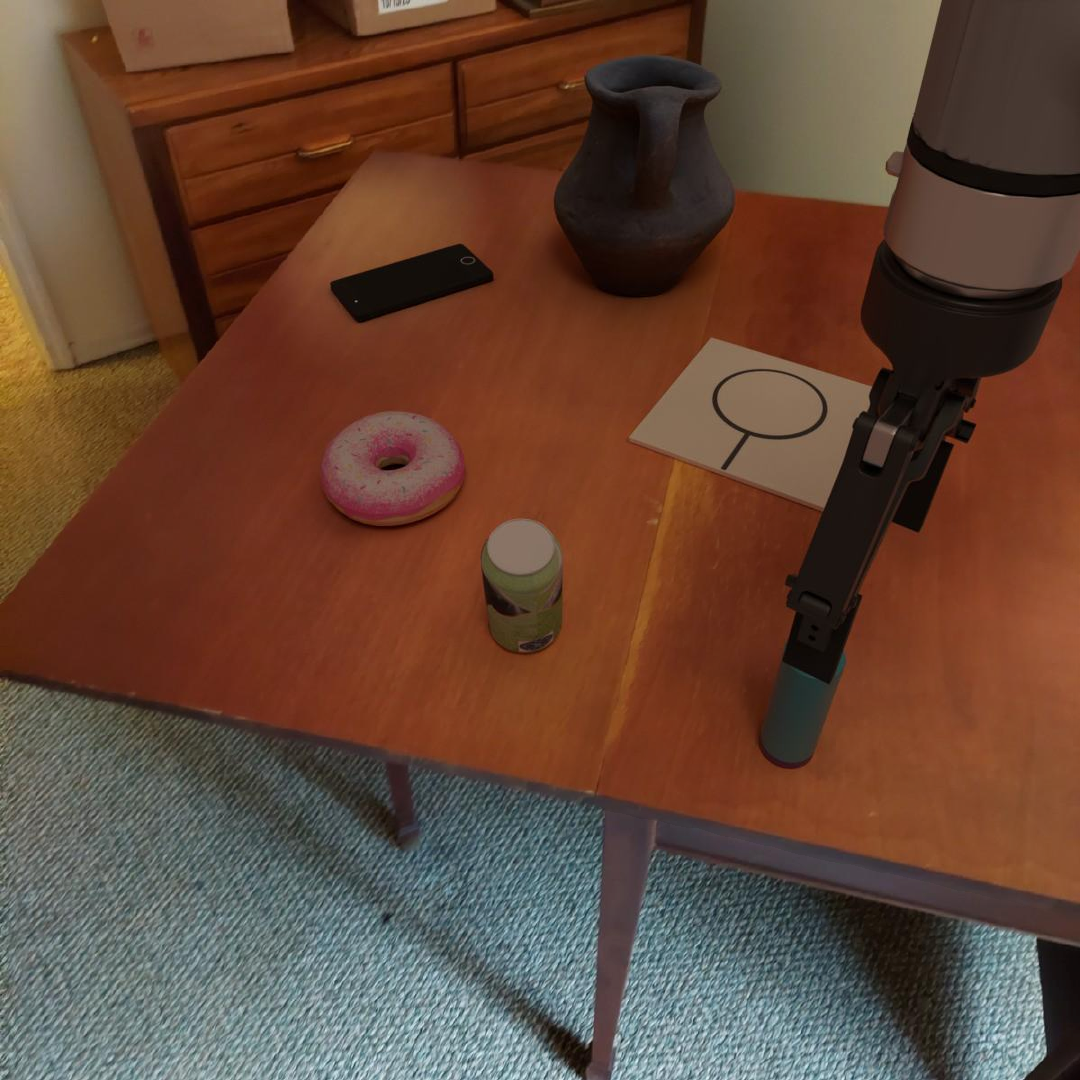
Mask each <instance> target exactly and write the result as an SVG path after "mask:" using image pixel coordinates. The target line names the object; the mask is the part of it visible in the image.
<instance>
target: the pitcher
mask: <svg viewBox="0 0 1080 1080" xmlns="http://www.w3.org/2000/svg"><path fill="white" fill-rule="evenodd" d="M583 80H584V86H585V88H586V91H587V93H588V95H589V97H590V98H591V108H590V114H589V120H588V124H587V127H586V129H585V133H584V136H583V138H582V141H581V145H580V147H579V148H578V149H577V152H576V153H575V155H574V157H573V158H572V160H571V161H570V163H569V165H568V166H567V167H566V169H565V170H564V172H563V173H562V175H561V176H560V178H559V181H558V182H557V184H556V186H555V190H554V194H553V209H554V214H555V218H556V220H557V223H558V224H559V227H560V229H561V230H562V232H563V234H564V235H565V237H566V239H567V241H568V243H569V245H570V246H571V248H572V250H573V252H574V253H575V255H576V256H577V258H578V260H579V261H580V263H581V266H582V268H583V270H584V271H585V272H586V274H587V275H588V276H589V278H590V279H591V280H592V281H593V282H594V284H595V285H596V286H597V287H598V288H600V289H602V290H604V291H605V292H608V293H612V294H616V295H621V296H631V297H649V296H652V297H653V296H658V295H661V294H663V293H665V292H667V291H669V290H671V288H673V286H675V285H676V284H677V283H678V282H679V281H681V279H682V278H683V277H684V275H685V274H686V273H687V272H688V270H689V269H690V268H691V267H692V266H693V264H694V263H695V262H696V261H697V260H698V259H699V257H700V256H701V254H703V252H704V250H706V248H707V247H708V246H709V244H711V243H712V242H713V241H714V239H715V238H716V237H717V236H718V235H719V233H721V231H722V230H723V229H724V228H725V227H726V226H727V224H728V223H729V222H730V219H731V217H732V215H733V213H734V210H735V207H736V192H735V188H734V185H733V182H732V180H731V178H730V176H729V174H728V172H727V170H726V169H725V168H724V166H723V165H722V163H721V161H720V160H719V158H718V156H717V154H716V151H715V149H714V146H713V142H712V140H711V136H710V132H709V129H708V125H707V123H706V119H705V110H706V107H707V105H708V104H709V103H710V102H711V101H713V100H714V99H715V98H717V97H718V95H719V94H720V93H721V91H722V89H723V87H722V81H721V79H720V78H719V76H717V75H716V74H715V73H714V72H712V71H709V70H708V69H707V68H705V67H704V66H702V65H700V64H698V63H696V62H693V61H690V60H685V59H682V58H677V57H674V56H671V55H662V54H661V55H659V54H643V55H632V56H625V57H622V58H614V59H611V60H608V61H607V60H606V61H605V62H601V63H598V64H596V65H595V66H593V67H591V68H589V69H588V70H587V71H586V72H585V75H584V79H583Z"/></svg>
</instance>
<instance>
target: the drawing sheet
mask: <svg viewBox="0 0 1080 1080" xmlns="http://www.w3.org/2000/svg"><path fill="white" fill-rule="evenodd" d="M872 386H873V385H868V384H865V383H861V382H859V381H855V380H852V379H848V378H845V377H842V376H838V375H835V374H832V373H829V372H826V371H823V370H819V369H816V368H813V367H809V366H807V365H803V364H801V363H800V364H799V363H797V362H793V361H790V360H787V359H783V358H780V357H777V356H774V355H770V354H767V353H764V352H761V351H757V350H754V349H751V348H748V347H745V346H741V345H739V344H734V343H731V342H728V341H725V340H721V339H718V338H715V337H712V336H711V337H710V338H709V339H708V340H707V342H706V343H705V344H704V346H703V347H702V348H701V349H700V350H699V351H698V353H696V355H695V356H694V357H693V359H692V360H691V361H690V362H689V364H687V366H686V367H685V368H684V370H683V371H682V372H681V373H680V375H678V377H677V378H676V379H675V380H674V382H673V383H672V384H671V385H670V387H668V389H666V391H665V393H664V394H663V395H662V396H661V397H660V398H659V400H658V401H657V402H656V404H654V406H653V407H652V408H651V409H650V411H649V412H648V413H647V415H645V417H644V418H643V419H642V420H641V422H640V423H639V424H638V425H637V426H636V428H635V429H634V430H633V431H632V432H631V433H630V435H629V436H628V442H629V443H632V444H634V445H637V446H640V447H643V448H646V449H647V450H651V451H653V452H656V453H659V454H661V455H665V456H667V457H669V458H670V457H671V458H673V459H676V460H679V461H681V462H684V463H686V464H690V465H692V466H695V467H698V468H701V469H703V470H706V471H708V472H711V473H714V474H717V475H719V476H722V477H726V478H727V479H731V480H733V481H736V482H739V483H742V484H745V485H747V486H750V487H752V488H755V489H757V490H761V491H764V492H765V493H766V492H767V493H769V494H772V495H775V496H778V497H781V498H782V499H786V500H789V501H791V502H793V503H797V504H800V505H803V506H805V507H807V508H810V509H813V510H815V511H819V512H821V513H823V510H824V508H825V505H826V503H827V500H828V498H829V495H830V493H831V490H832V488H833V485H834V483H835V480H836V478H837V475H838V473H839V470H840V468H841V465H842V463H843V460H844V456H845V453H846V450H847V447H848V444H849V441H850V438H851V434H852V431H853V428H852V426H853V423H854V421H855V419H856V418H857V417H859V415H860V413H861V412H862V411H866V412H867V411H868V408H869V406H870V400H869V393H870V391H871V388H872Z"/></svg>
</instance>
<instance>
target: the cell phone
mask: <svg viewBox="0 0 1080 1080" xmlns="http://www.w3.org/2000/svg"><path fill="white" fill-rule="evenodd" d="M494 279H495V278H494V272H493V271H492V269H490V268H489V267H488V266H487V265H486V264H485V263H484V262H483V261H482V260H481V259H480V258H479V257H478V256H476V254H475V253H474V252H472V251H471V249H469V248H468V247H467V246H466V245H465V244H463V243H456V244H453V245H449V246H445V247H442V248H439V249H435V250H432V251H429V252H425V253H422V254H419V255H415V256H412V257H409V258H405V259H402V260H398V261H394V262H392V263H391V262H390V263H387V264H385V265H382V266H378V267H373V268H372V269H371V268H370V269H367V270H365V271H364V270H363V271H361V272H359V273H358V272H357V273H354V274H351V275H347V276H345V277H340V278H338V279H335V280H332V281H330V282H329V283H330V284H329V285H330V286H329V287H330V290H331V292H332V293H333V294H334V295H335V297H336V298H337V299H338V300H339V301H340V303H341V304H342V306H343V307H344V308H345V309H346V310H347V311H348V312H349V314H350V315H351V316H352V317H353V319H354V320H355V321H357V322H359V323H360V322H363V321H367V320H369V319H372V318H376V317H379V316H382V315H386V314H388V313H391V312H395V311H399V310H400V309H405V308H408V307H411V306H414V305H417V304H420V303H423V302H427V301H430V300H433V299H436V298H439V297H442V296H446V295H448V294H451V293H454V292H458V291H462V290H465V289H468V288H471V287H474V286H477V285H480V284H484V283H487V282H490V281H493V280H494Z"/></svg>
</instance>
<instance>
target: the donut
mask: <svg viewBox="0 0 1080 1080" xmlns="http://www.w3.org/2000/svg"><path fill="white" fill-rule="evenodd" d="M464 455H465V453H464V452H463V449H462V447H461V446H460V443H459V442H458V441H457V440H456V438H455V437H454V436H453V434H452V433H451V432H450V430H449V429H448V428H447V427H445V426H444V425H443V424H442V423H440V422H439V421H437V420H435V419H433V418H432V417H428V416H425V415H423V414H419V413H415V412H409V411H400V410H399V411H398V410H388V411H381V412H376V413H372V414H369V415H367V416H364V417H361V418H359V419H357V420H356V421H354V422H352V423H350V424H349V425H347V426H346V427H344V428H343V429H341V430H340V431H339V432H337V434H336V435H335V436H334V437H333V438H332V439H331V440H330V441H329V443H328V444H327V445H326V448H325V450H324V452H323V455H322V457H321V460H320V465H319V476H320V477H319V478H320V483H321V487H322V490H323V492H324V494H325V496H326V498H327V499H328V501H329V502H330V503H331V504H332V505H333V506H334V507H335V508H336V509H337V510H338V511H339V512H340V513H342V514H343V515H345V516H347V517H348V518H349V519H351V520H354V521H356V522H359V523H361V524H365V525H371V526H376V527H379V526H380V527H393V526H401V525H406V524H410V523H414V522H417V521H420V520H423V519H425V518H427V517H430V516H432V515H435V514H436V513H438V512H439V511H440V510H442V509H443V508H445V507H447V505H448V504H449V503H451V502H452V500H454V498H455V496H456V495H457V493H458V492H459V490H460V489H461V486H462V485H463V483H464V480H465V475H466V463H465V456H464ZM394 465H404V466H403V467H400V468H397V469H390V470H384V469H383V468H385V467H388V466H394Z"/></svg>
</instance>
